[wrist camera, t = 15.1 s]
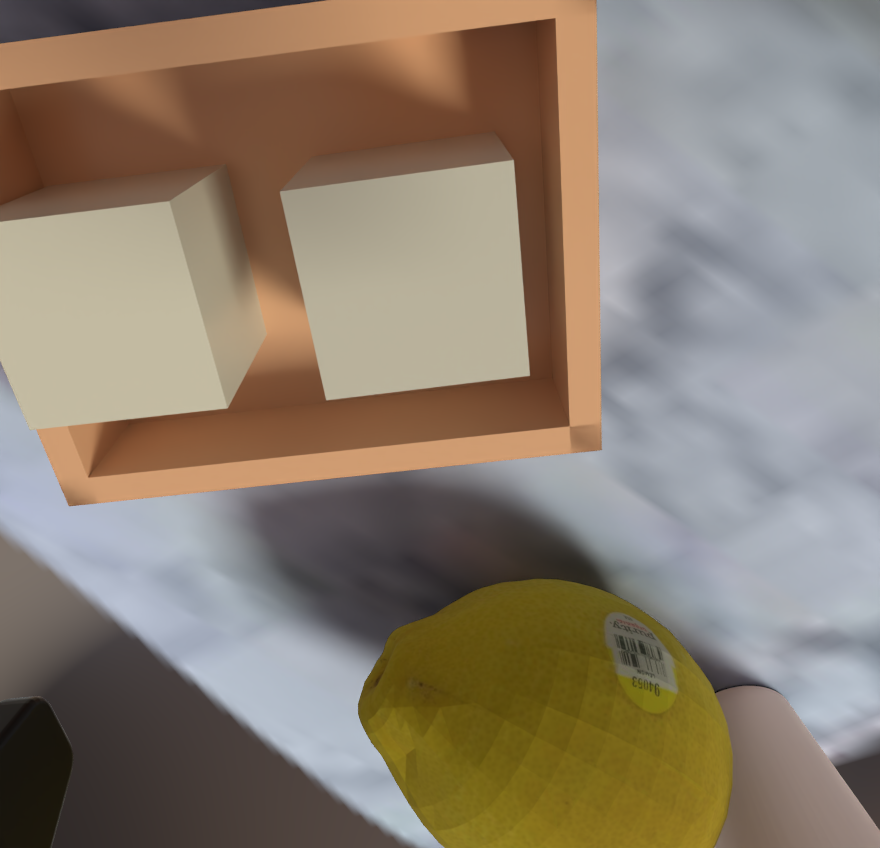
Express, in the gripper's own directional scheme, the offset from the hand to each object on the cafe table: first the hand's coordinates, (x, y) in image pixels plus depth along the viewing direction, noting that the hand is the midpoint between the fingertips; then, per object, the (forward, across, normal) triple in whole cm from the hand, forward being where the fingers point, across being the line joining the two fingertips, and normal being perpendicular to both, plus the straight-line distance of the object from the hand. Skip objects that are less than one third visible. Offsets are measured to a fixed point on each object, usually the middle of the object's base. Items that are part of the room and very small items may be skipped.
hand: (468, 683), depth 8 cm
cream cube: (+11, +6, -2) cm, 13 cm away
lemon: (+12, -2, +11) cm, 16 cm away
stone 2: (+11, 0, -2) cm, 12 cm away
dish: (+12, +3, -2) cm, 13 cm away
